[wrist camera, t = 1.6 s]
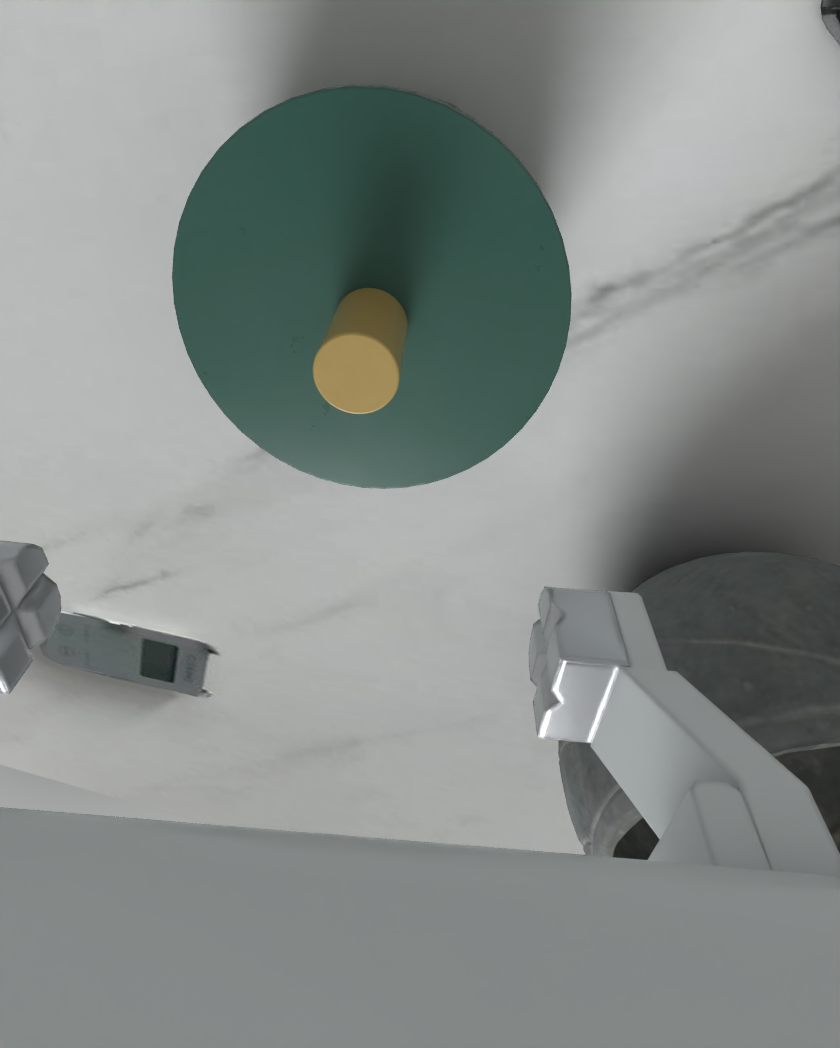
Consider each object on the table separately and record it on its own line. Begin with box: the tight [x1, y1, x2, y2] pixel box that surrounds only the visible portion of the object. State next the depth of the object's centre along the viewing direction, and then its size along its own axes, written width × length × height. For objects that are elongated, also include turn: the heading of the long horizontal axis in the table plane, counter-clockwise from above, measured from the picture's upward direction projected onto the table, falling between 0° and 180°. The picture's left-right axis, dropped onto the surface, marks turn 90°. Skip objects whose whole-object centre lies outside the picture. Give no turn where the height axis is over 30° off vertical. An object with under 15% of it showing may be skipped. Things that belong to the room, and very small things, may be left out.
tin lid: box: [172, 85, 571, 489], centre depth 20 cm, size 13×13×5 cm
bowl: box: [558, 552, 840, 860], centre depth 34 cm, size 21×21×15 cm
